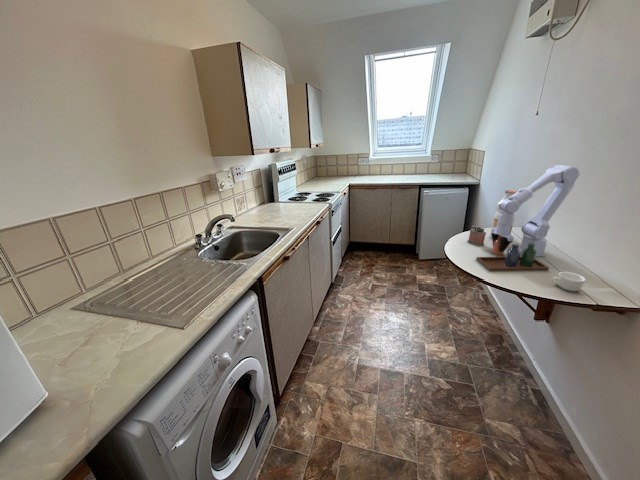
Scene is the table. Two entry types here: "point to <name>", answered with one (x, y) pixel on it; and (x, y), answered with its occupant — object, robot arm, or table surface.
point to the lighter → (477, 236)
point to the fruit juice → (496, 217)
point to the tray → (498, 265)
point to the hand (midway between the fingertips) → (498, 248)
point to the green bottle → (528, 256)
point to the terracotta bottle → (497, 247)
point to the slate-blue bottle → (512, 256)
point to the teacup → (569, 281)
